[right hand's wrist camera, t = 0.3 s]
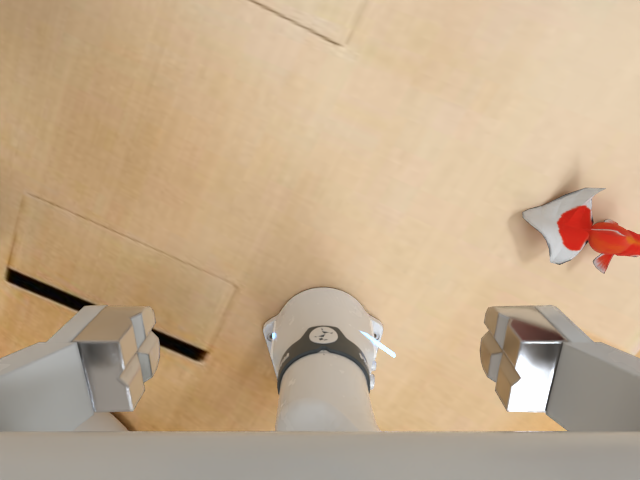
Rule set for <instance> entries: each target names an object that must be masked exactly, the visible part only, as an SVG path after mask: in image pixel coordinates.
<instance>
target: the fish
mask: <svg viewBox="0 0 640 480" xmlns="http://www.w3.org/2000/svg"><path fill="white" fill-rule="evenodd" d="M604 189H606V188H584V189H581V190H578V191H575V192H572V193H569V194H566V195H564V196H561V197H559V198H557V199H555V200H553V201H551V202H549V203H547V204H545V205H543V206H539V207H535V208H532V209H528V210H526V211H524V212H522V215H523V218H524V219H525V220H526V221H527V222H528V223H529V224H531V225H532V226H533V227H534V228H535V229H536V230H538V231H539V232H540V233H541V234H542V235H543V236H544V238H545V240H546V242H547V245H548V247H549V253H550V262H551V263H555V264H559V265H560V264H563V263H565V262H567V261H570V260H571V259H573V258H574V257H575V256H576V255H577V254H578V253H579V252H580V251H581V250H582V248H583V247H584V246H585V245H586V244H587V242H588V241H589V244H590V246H591V247H592V248H593V249H594V250H595V251H596V252H599V253H602V254H600V255H599V256H598V257H597V258H595V259H594V260H593V263H594V265H595V267H596V268H597V269H598V270H599V271H601V272H602V273H605V271H606V269H607V267H608V265H609V263H610V261H611V259H612V257H613V255H614V254H615V255H617V256H632V257H638V256H640V234H636V233H634V232H632V231H630V230H626V229H624V228H623V227H621V226H618V223H616V222H614V221H613V220H610V219H607V220H605V221H604V222H599V223H596V224H594V225H593V217H592V211H591V208H592V198H593V196H594V195H595V194H597V193H598V192H600V191H602V190H604ZM592 225H593V226H592Z"/></svg>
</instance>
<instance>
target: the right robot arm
mask: <svg viewBox="0 0 640 480" xmlns="http://www.w3.org/2000/svg"><path fill="white" fill-rule="evenodd" d="M155 323H156V320H155V315H154V310H153V309H152V308H151V307H150V306H108V305H94V306H84V307H83V308H82V309H81V310H80V311H79V312H78V313H77V314H76V315H75V316H73V317H72V318H71V319H70V320H69V321H68V322H67V323H66V324H65V325H64V326H63V327H62V328H61V329H60V330H58V331H57V332H56V333H55V334H54V335H53V336H52V337H51V338H50V339H49V340H48V341H47V342H38V343H36V344H34V345H31V346H29V347H26V348H24V349H22V350H19V351H17V352H14V353H12V354H10V355H7V356H5V357H2V358H0V480H640V358H638V357H635V356H633V355H630V354H628V353H626V352H623V351H621V350H618V349H616V348H614V347H611V346H609V345H606V344H604V343H602V342H593V341H592V340H591V339H590V338H589V337H588V336H587V335H586V334H585V333H584V332H583V331H582V330H581V329H579V328H578V327H577V326H576V325H575V324H574V323H573V322H572V321H571V320H570V319H569V318H568V317H567V316H566V315H565V314H563V313H562V312H561V311H560V310H559V309H558V308H557V307H555V306H552V305H541V306H497V307H488V309H487V311H486V313H485V319H484V323H485V325H486V327H487V328H488V330H489V331H488V332H487V333H486V334H485V335H484V336H483V337H482V338H481V345H480V357H481V364H482V367H483V370H484V372H485V374H486V375H487V377H488V378H490V379H491V380H493V381H494V382H496V387H495V391H496V393H497V395H498V396H499V398H500V400H501V402H502V403H503V405H504V407H505V409H506V410H507V411H512V412H546V415H548V416H549V417H550V418H551V419H553V420H554V421H555V422H557V423H558V424H559V425H561V426H562V427H563V428H565V429H566V430H567V431H380V429H379V427H378V425H377V423H376V420H375V417H374V414H373V410H372V406H371V402H370V397H369V393H370V390H372V389H373V388H374V381H375V378H374V375H373V374H371V372H372V371H375V370H376V361H375V358H376V354H377V351H378V347H380V348H381V349H383V350H384V351H386V352H387V353H388V354H390V355H391V356H393V357H395V353H394V352H392V351H391V350H389V349H388V348H387V347H385V346H384V345H382V344H381V343H380V340H381V337H382V333H383V324H382V323H381V322H380V321H379V320H378V319H376V318H374V317H373V316H371V315H369V314H368V313H367V312H366V311H365V309H364V308H363V307H362V305H361V304H360V303H359V302H358V301H357V300H356V299H355V298H354V297H352V296H351V295H349V294H348V293H346V292H343V291H341V290H338V289H334V288H325V287H322V288H313V289H309V290H306V291H303V292H301V293H299V294H297V295H295V296H294V297H293V298H291V299H290V300H289V301H288V302H287V303H286V304H285V306H284V307H283V308H282V310H281V311H280V313H279V314H278V315H276V316H275V317H273V318H271V319H270V320H268V321H267V322H266V323H265V324H264V326H263V333H264V336H265V340H266V343H267V346H268V350H269V353H270V357H271V360H272V363H273V367H274V370H275V373H276V377H277V380H278V382H277V388H278V394H279V401H278V409H277V417H276V425H275V431H73V430H74V429H75V428H77V427H78V426H79V425H81V424H82V423H83V422H85V421H86V420H87V419H89V418H90V417H91V416H93V415H94V412H126V411H133V410H134V409H135V407H136V405H137V403H138V402H139V400H140V398H141V396H142V395H143V393H144V391H145V387H144V382H146V381H147V380H149V379H150V378H152V377H153V375H154V373H155V372H156V370H157V367H158V363H159V358H160V344H159V338H158V337H157V336H156V335H155V334H154V333H153V332H152V331H151V330H152V328H153V327H154V325H155ZM271 334H272V336H271ZM374 334H376V335H374Z"/></svg>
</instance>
